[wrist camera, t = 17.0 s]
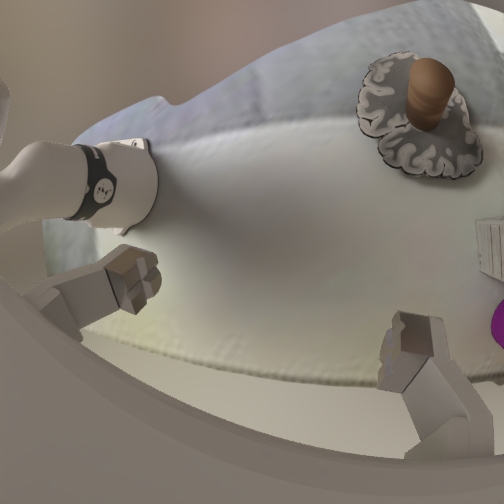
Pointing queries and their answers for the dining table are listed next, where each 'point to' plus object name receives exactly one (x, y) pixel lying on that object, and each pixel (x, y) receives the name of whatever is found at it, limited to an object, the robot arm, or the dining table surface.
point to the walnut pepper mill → (428, 93)
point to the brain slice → (405, 134)
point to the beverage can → (498, 324)
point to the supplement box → (491, 246)
